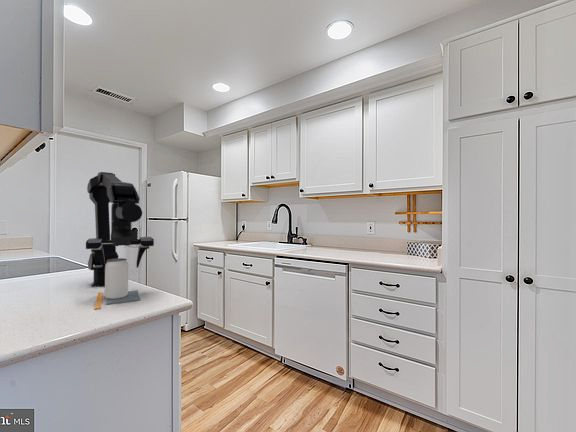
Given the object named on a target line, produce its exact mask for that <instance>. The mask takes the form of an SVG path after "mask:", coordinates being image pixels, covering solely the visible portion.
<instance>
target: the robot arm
mask: <svg viewBox="0 0 576 432" xmlns="http://www.w3.org/2000/svg"><path fill="white" fill-rule="evenodd" d="M86 188H87V193H88V194H89V199H90V201H91V202H92V203H93V205H94V214H95V215H94V216H95V238H88V239H87V240H86V241H85V250H90V252H91V253H90V254H89V258H88V261H87V268H88V270H90V271H93V282H92V284H91V287H100V286H105V265H106V263H107V260H109V259H117V258H119V255H118V252H117V250H116V249H117V248H116V247H118V246H120V247H121V246H125V247H128V246H133V245H134V246H135V245H137V246H138V247H137V248H138V249H137V254H136V255H137V257H136V262H135V263H136V269H137V268H139V266H140V263H141V261H142V259H143V255H144V253H145V251H146V250H149V249H150V247H154V245H155V244H154V243H155V239H154V238H153V237H152V236H139V238H138V233H139V230H138V229H132V226H133V225H132V223H134V222H138V221H139V220H140V219H141V218H142V216H143V210H142V208H141V206H140V205H138V204H140V196H139V194H138V191H137V189H136V187H135V185H134V184H133V183H131V182H125V181H122V180H121V179H119V177H117V175H116V174H115V173H113V172H105V171H99V172H98V173H97V174H96V175H95V176H93V177H92V178H90V179H89V180H88V184H87V187H86ZM110 203H111V207H110V205H109V204H110ZM110 208H111V211H110ZM110 212H111V220H110ZM110 221H111V222H110ZM110 224H111V225H110Z"/></svg>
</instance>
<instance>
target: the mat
mask: <svg viewBox="0 0 576 432" xmlns="http://www.w3.org/2000/svg"><path fill="white" fill-rule="evenodd" d="M138 291H139V290H137V289H136V290H135V289H134V290H128V295H127V296H126V297H123V298H119V299H107V298H106V302H105V305H106V306H109V305H116V304H118V305H119V304H124V303H133V302H138V301H139V302H140V301H141V298H140V294H139V292H138Z"/></svg>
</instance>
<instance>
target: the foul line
mask: <svg viewBox="0 0 576 432" xmlns="http://www.w3.org/2000/svg"><path fill="white" fill-rule="evenodd" d="M103 298H104V291H103V292H102V291H101V292H97V296H96V300H95V306H94V308H93V309H94V310H96V311H97V310H101V309H102V303H103Z"/></svg>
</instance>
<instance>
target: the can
mask: <svg viewBox="0 0 576 432" xmlns="http://www.w3.org/2000/svg"><path fill="white" fill-rule="evenodd" d="M127 260H128V259H127V258H121V257H120V258H119V257H118V258H117V259H109V260H107V263H106V265H105V285H104V298H105V299H106V300H107V299H119V298H123V297H126V296H127V295H128V291H129V263H128V261H127Z"/></svg>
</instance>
